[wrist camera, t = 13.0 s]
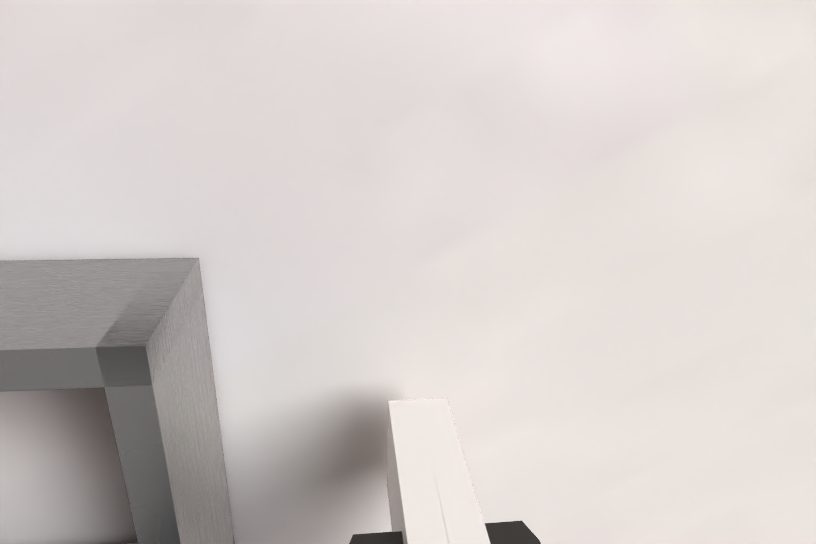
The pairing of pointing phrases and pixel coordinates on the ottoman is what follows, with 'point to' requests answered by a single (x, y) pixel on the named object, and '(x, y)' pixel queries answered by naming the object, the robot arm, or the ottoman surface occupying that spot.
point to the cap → (129, 377)
